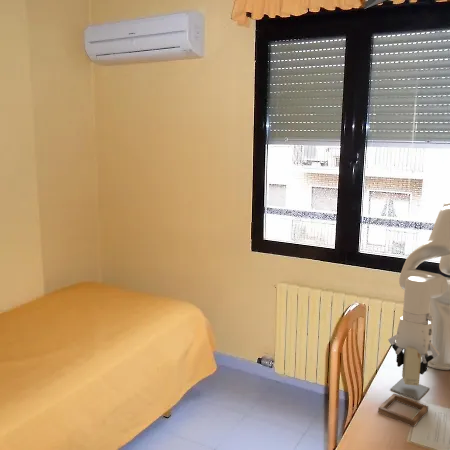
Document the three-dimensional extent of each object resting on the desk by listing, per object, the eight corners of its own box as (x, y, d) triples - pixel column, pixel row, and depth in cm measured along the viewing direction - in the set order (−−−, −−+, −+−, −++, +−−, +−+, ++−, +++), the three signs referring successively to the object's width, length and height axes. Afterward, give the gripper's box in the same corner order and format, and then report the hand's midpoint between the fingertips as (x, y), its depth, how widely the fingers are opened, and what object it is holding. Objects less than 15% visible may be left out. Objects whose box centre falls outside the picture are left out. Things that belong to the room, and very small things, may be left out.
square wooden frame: (393, 397, 149) (393, 393, 149) (427, 410, 142) (428, 406, 142) (378, 412, 142) (378, 407, 141) (413, 426, 135) (414, 422, 134)
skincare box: (419, 386, 150) (422, 350, 147) (404, 384, 151) (407, 348, 148) (415, 376, 156) (418, 341, 153) (401, 375, 157) (404, 340, 154)
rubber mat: (402, 379, 160) (402, 378, 160) (429, 389, 154) (429, 387, 154) (390, 389, 154) (390, 388, 154) (418, 400, 148) (418, 399, 148)
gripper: (448, 320, 146) (443, 374, 149) (393, 306, 158) (390, 356, 161) (439, 327, 141) (434, 382, 144) (383, 312, 152) (380, 364, 156)
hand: (411, 368), depth 152 cm, fingers closed on skincare box, 6 cm apart
